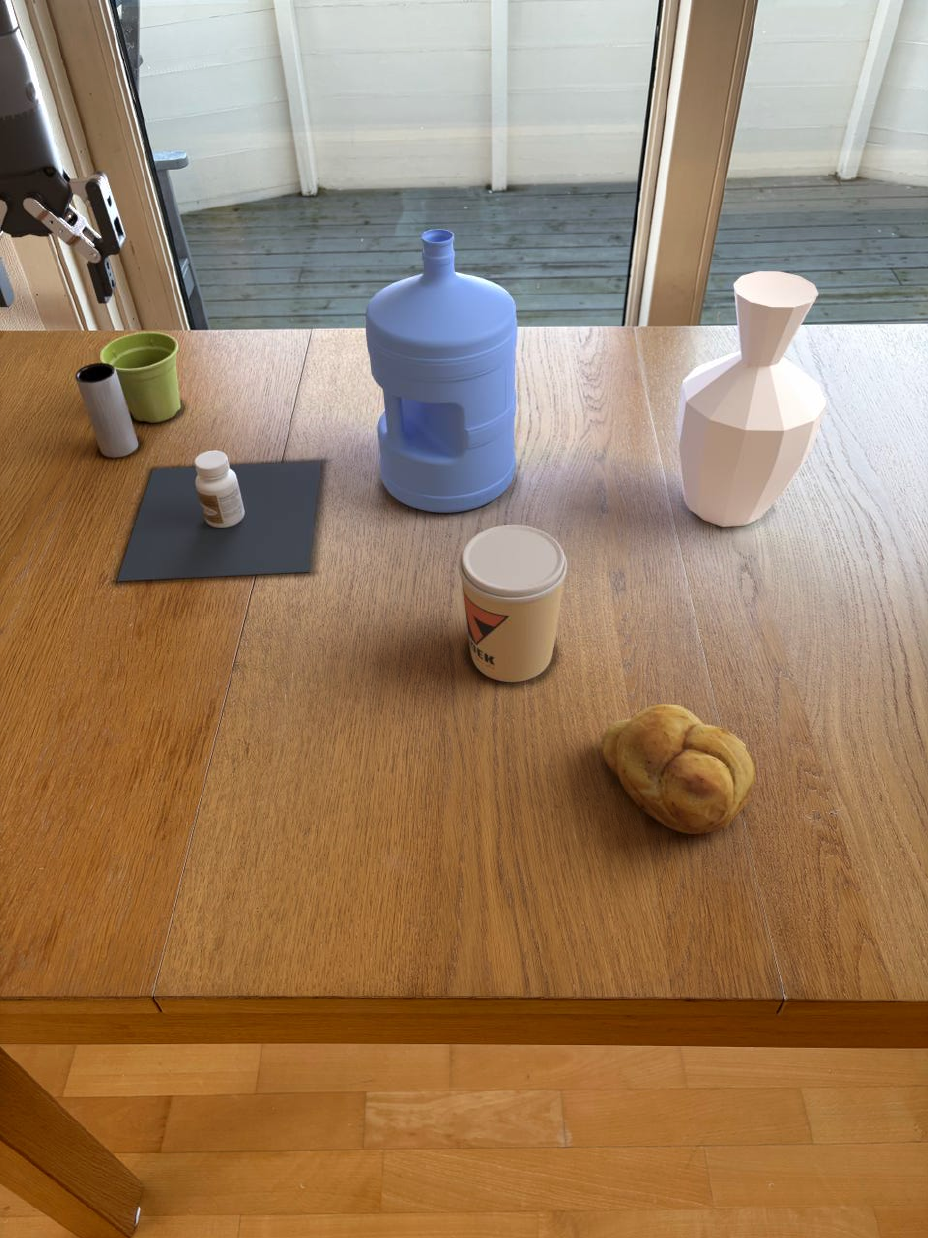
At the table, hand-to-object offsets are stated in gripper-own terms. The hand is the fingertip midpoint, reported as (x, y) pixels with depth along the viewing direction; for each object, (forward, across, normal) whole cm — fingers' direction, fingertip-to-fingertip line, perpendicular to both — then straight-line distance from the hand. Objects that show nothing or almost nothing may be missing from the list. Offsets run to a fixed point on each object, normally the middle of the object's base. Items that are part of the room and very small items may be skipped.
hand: (56, 301), depth 84 cm
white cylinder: (+28, +6, -19) cm, 34 cm away
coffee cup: (+28, -39, +19) cm, 52 cm away
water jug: (+28, -34, -10) cm, 45 cm away
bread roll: (+28, -51, +35) cm, 68 cm away
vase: (+27, -65, -2) cm, 71 cm away
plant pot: (+28, +3, -27) cm, 39 cm away
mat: (+28, -9, -4) cm, 29 cm away
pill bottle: (+28, -9, -4) cm, 29 cm away
